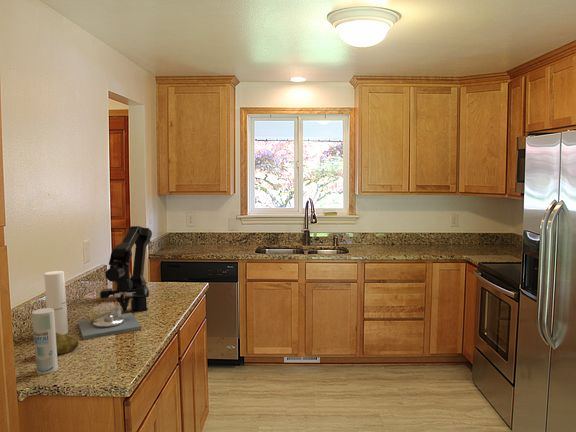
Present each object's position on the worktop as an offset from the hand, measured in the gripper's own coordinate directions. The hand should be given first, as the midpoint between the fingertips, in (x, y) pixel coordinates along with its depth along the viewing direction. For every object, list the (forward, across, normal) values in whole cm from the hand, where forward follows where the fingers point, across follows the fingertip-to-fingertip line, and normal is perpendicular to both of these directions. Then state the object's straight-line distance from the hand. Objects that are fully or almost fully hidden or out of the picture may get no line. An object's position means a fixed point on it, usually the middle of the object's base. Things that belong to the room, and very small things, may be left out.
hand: (125, 311), depth 209 cm
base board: (+4, +5, +8) cm, 10 cm away
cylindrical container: (+4, +24, +12) cm, 27 cm away
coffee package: (+4, +9, -40) cm, 41 cm away
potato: (+4, +17, +34) cm, 38 cm away
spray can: (+4, +15, +50) cm, 52 cm away
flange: (+2, +6, +6) cm, 9 cm away
